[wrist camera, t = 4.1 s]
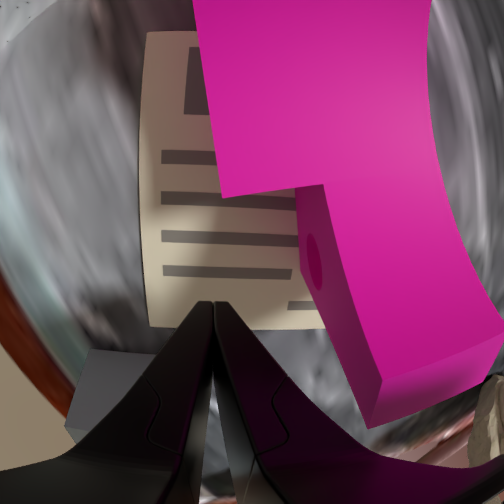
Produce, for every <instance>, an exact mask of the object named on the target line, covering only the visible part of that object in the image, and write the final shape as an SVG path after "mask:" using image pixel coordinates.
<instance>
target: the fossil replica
mask: <svg viewBox="0 0 504 504" xmlns="http://www.w3.org/2000/svg"><path fill="white" fill-rule="evenodd" d="M473 422H474V426H473V429H472V432H471V436H470V437H469V440H468V445H467V446H468V450H467V453H468V459H469V468H472V467H476V466H480V465H482V464H485V463H486V462H488V461H490V460H492V459H493V458H495V457H497V456H498V455H501V454H504V376H499V375H493V376H492V377H491V379H490V380H488V381H487V382H486V383H484V385H483V386H482V388H481V391H480V394H479V400H478V404H477V407H476V409H475V416H474V419H473Z"/></svg>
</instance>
